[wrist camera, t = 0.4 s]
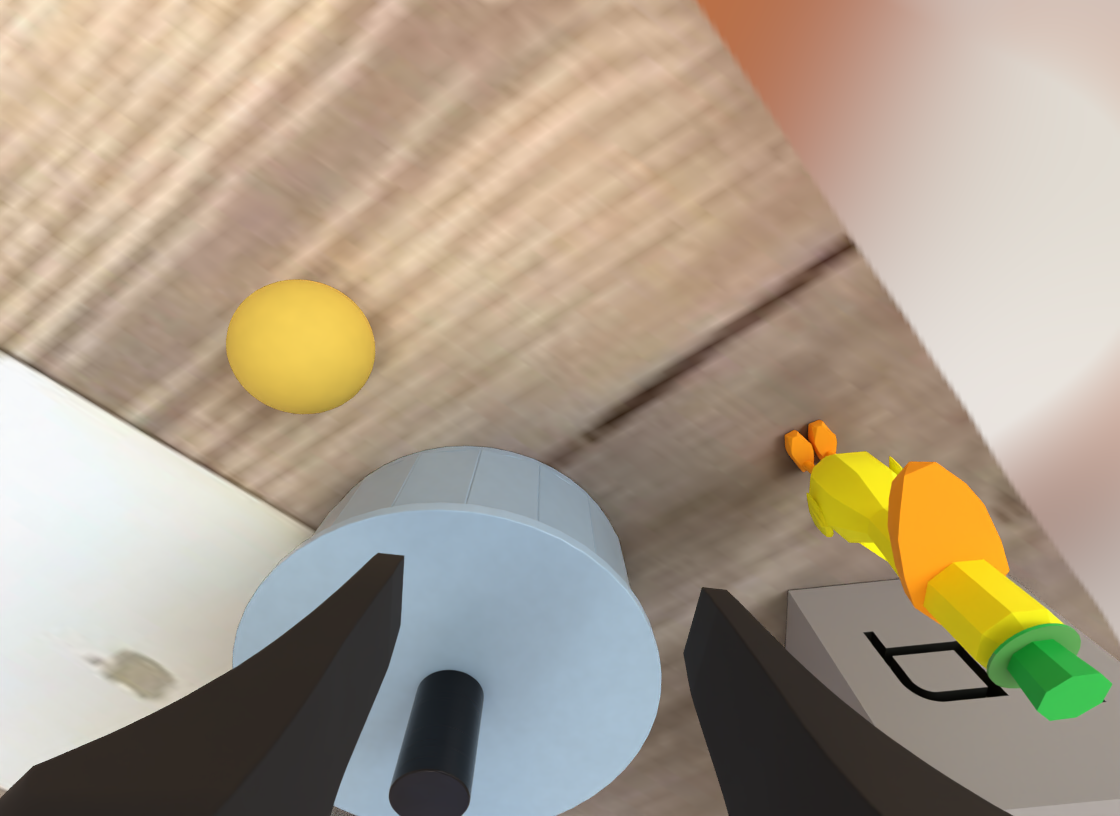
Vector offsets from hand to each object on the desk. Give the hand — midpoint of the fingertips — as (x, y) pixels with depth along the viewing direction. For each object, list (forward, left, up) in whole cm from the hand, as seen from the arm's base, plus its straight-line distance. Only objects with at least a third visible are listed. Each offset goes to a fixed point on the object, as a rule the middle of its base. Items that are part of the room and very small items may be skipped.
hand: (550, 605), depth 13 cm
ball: (+2, +9, -8) cm, 12 cm away
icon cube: (-7, -20, -10) cm, 23 cm away
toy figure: (+3, -11, -10) cm, 15 cm away
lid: (-8, +1, -5) cm, 9 cm away
